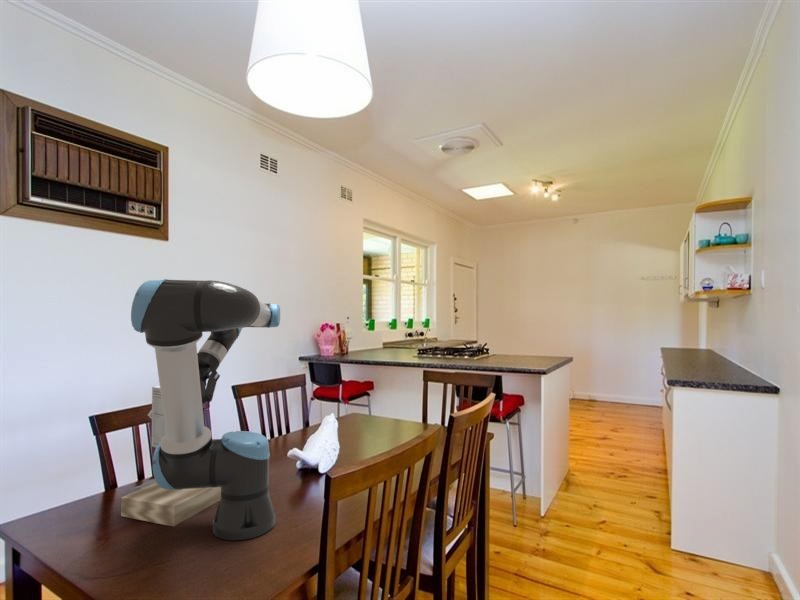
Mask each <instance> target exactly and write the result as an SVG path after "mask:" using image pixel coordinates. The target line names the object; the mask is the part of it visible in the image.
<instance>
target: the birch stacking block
mask: <svg viewBox="0 0 800 600" xmlns="http://www.w3.org/2000/svg"><path fill="white" fill-rule="evenodd" d="M220 500H221V487H212V488H191V489H182V490H174V489H163V488H161V487H160V486H159V485H158V484H157V483H154V484H152V485H149V486H147V487H145V488H142V489H140V490H138V491H135V492H133V493H131V494H129V493H128V494H125V495H124V496H121V501H120V503H121V505H120V516H121V517H124V518H127V519H128V518H129V519H134V520H138V521H143V522H144V521H145V522H148V523H149V522H150V523H154V524H157V525H158V524H160V525H164V526H169V527H176V526H178V525H179V524H182V522H184V521H186V520H188V519H190V518H192V517H193V516H196V515H197V514H198V513H201V512H202V511H204V510H206V509H207V508H209V507H211V506H212V505H215V504H217V503H218V502H220Z"/></svg>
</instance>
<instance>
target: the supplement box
mask: <svg viewBox="0 0 800 600" xmlns="http://www.w3.org/2000/svg"><path fill="white" fill-rule="evenodd" d="M151 389H152V390H151V392H152V393H151V410H152V419H151V447H153V448H156V447H157V446H158V444H159V443H160V442H161V439H162V438H163V437H164V436H165V435H166V430H165V423H164V415H163V407H162V399H161V392H160V385H156V386H152V387H151Z"/></svg>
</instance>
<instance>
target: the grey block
mask: <svg viewBox="0 0 800 600" xmlns="http://www.w3.org/2000/svg"><path fill="white" fill-rule="evenodd" d="M154 483H156V481H155V478H152V479H150V480H147V481H145V482H143V483H142V484H140V485H137V486H134V487H132V488H129V490H128V494H131V493H133V492H135V491H138V490H140V489H142V488H145V487H147V486H149V485H152V484H154Z"/></svg>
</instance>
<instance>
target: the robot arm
mask: <svg viewBox="0 0 800 600" xmlns="http://www.w3.org/2000/svg"><path fill="white" fill-rule="evenodd" d="M130 321H131V322H130V323H131V326H132V327H133V330H135V332H138V333H140V334H141V333H142V334H145V342H146V344H147V345H148V346H150V347H151V348H154V352H155V359H156V360H155V361H156V366H157V375H158V383H159V386H160V392H161V399H162V407H163V415H164V423H165V430H166V435H165V436H164V437H163V438H162V439H161V442H160V443H159V444H158V446H157V447H155V449H154V452H153V455H152V462H153V464H152V474H153V477H154V478H155V481H156V483H157V484H158V485H159V486H160V487H161V488H163V489H174V490H182V489H191V488H212V487H221V500H220V501H219V503H218V506H217V508H216V512H215V514H214V518H213V521H212V534H213V535H214V536H215V537H217V538H218V539H221V540H226V541H244V540H245V541H246V540H249V539H253V538H257V537H259V536H262V535H264V534H266V533H268V532H269V531H271V529H273V527H275V524H276V512H275V509H274V506H273V503H272V500H271V495H270V491H269V489H270V487H269V486H270V484H269V483H270V481H269V479H270V457H271V453H270V443H269V439H268V437H266V436H265V435H263V434H261V433H259V432H254V431H247V430H236V431H228V432H225V433H224V434H223V435H222V436H221V438H216V439H215V438H213V434H212V431H211V429H210V428H209V427H208V426H206V425H205V422H204V421H205V420H204V410H203V404H205V403H206V402H207V403H211V402H213V401H212V400H213V398H214V397H213V396H214V395H215V394H214V393H215V389H216V386H217V382H218V380H219V378H220V377H221V375H220V374H219V373H218V371H217V370H218V369H219V367H220V364H221V363H222V362H223V360H224V359H225V357H226V356H227V354H228V353H229V351H230V349H231V348H232V347H233V345H234V344H235V342H236V340H237V339H238V338H239V337H240V334H241V332H242V330H243V328H267V329H270V328H277V327H279V326H280V323H281V308H280V305H279V304H278V303H270V302H269V303H263V302H261V301H259V299H258V297H257V296H256V295H255V294H254V293H253V292H251V291H250V290H248V289H245V288H243V287H242V286H239V285H235V284H233V283H229V282H225V281H219V280H198V279H197V280H195V279H194V280H192V279H189V280H187V279H167V278H163V279H153V280H152V279H151V280H147V281H144V282H143V283H142V284H141V285H140V286H139V287H138V289H137V290H136V292H135V294H134V297H133V300H132V305H131V312H130ZM203 332H204V333H205V332H206V333H210V334H209V336H208V338H207V339H206V340H205V342H204V343H203V345H202V346H201V347H200V349H199V350H198V346H197V343H198V342H199V341H200V340H201V339H202V338H203ZM147 416H148V417H149V419H151V420H152V409H150V410H149V413H148V414H147ZM154 478H153V479H154Z"/></svg>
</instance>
